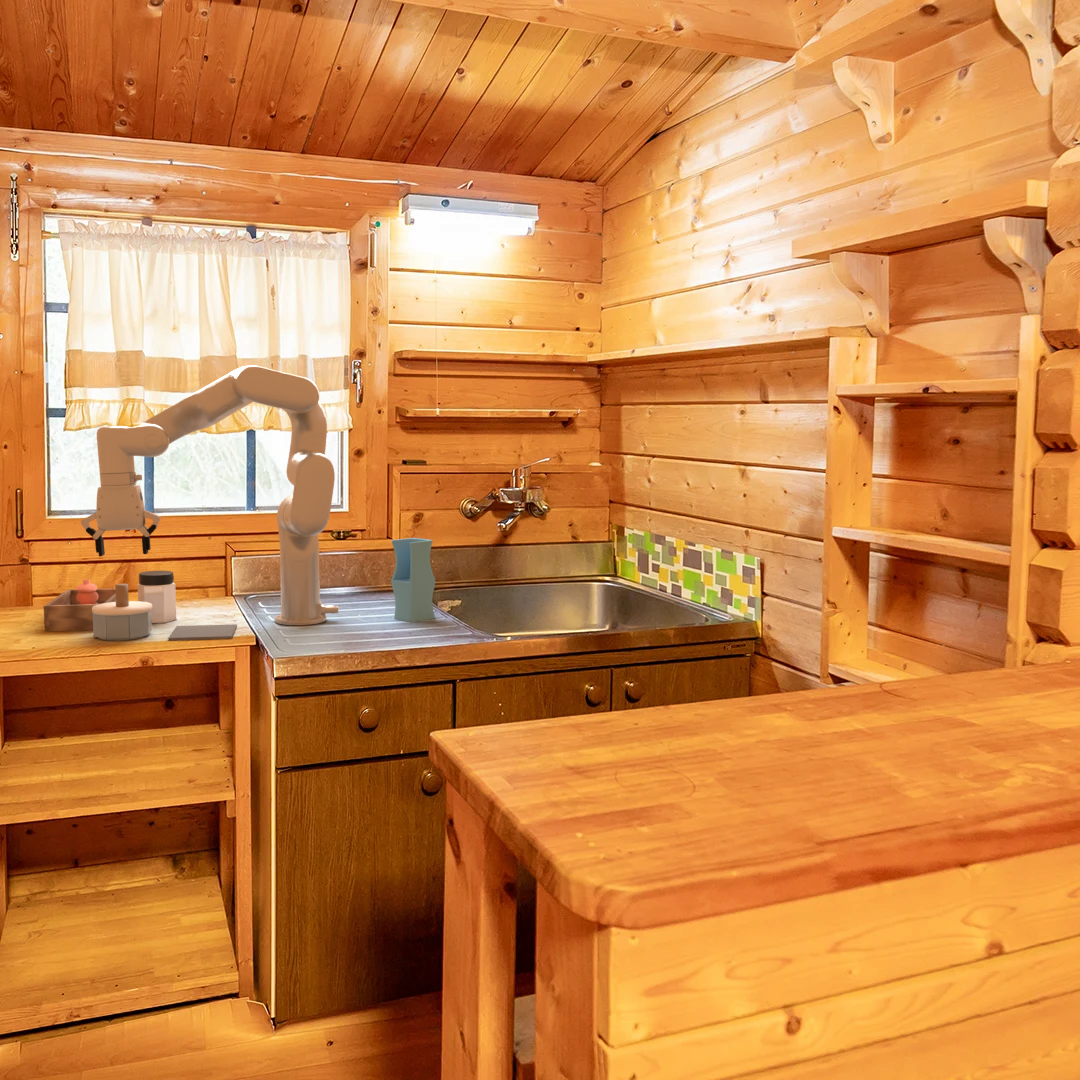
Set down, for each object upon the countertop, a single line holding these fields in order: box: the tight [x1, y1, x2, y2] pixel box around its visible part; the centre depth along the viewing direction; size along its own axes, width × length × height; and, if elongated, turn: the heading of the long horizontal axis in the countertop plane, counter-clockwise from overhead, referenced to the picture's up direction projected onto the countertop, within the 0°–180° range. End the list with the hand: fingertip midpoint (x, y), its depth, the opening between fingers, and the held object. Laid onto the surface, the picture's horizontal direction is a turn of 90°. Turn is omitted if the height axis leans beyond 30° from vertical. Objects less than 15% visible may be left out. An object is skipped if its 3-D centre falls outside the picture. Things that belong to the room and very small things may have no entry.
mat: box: [167, 623, 238, 641], centre depth 258 cm, size 14×14×1 cm
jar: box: [137, 570, 177, 624], centre depth 272 cm, size 9×8×12 cm
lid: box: [92, 583, 152, 616], centre depth 253 cm, size 13×13×6 cm
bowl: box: [92, 611, 153, 642], centre depth 254 cm, size 12×12×6 cm
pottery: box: [76, 578, 99, 605], centre depth 269 cm, size 18×10×10 cm, turn 11°
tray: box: [43, 588, 116, 632], centre depth 271 cm, size 14×24×6 cm, turn 11°
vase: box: [390, 537, 436, 623], centre depth 278 cm, size 8×8×20 cm
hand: (123, 554), depth 253 cm, fingers open, 9 cm apart
